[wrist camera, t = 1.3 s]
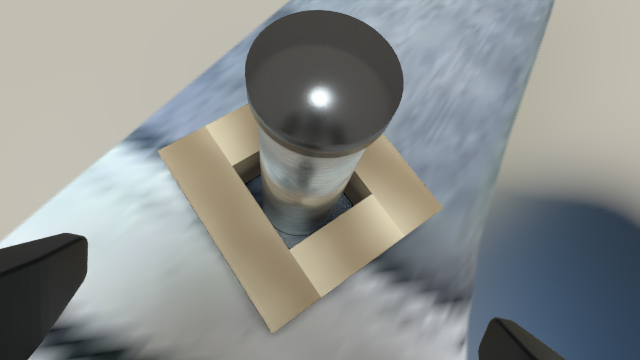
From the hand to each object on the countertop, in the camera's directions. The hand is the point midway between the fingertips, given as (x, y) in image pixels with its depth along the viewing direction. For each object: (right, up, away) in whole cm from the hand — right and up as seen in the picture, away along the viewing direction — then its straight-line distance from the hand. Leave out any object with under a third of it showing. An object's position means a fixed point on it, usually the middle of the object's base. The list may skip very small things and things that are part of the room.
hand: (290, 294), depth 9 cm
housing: (-1, +1, +16) cm, 16 cm away
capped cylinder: (-1, +1, +16) cm, 16 cm away
